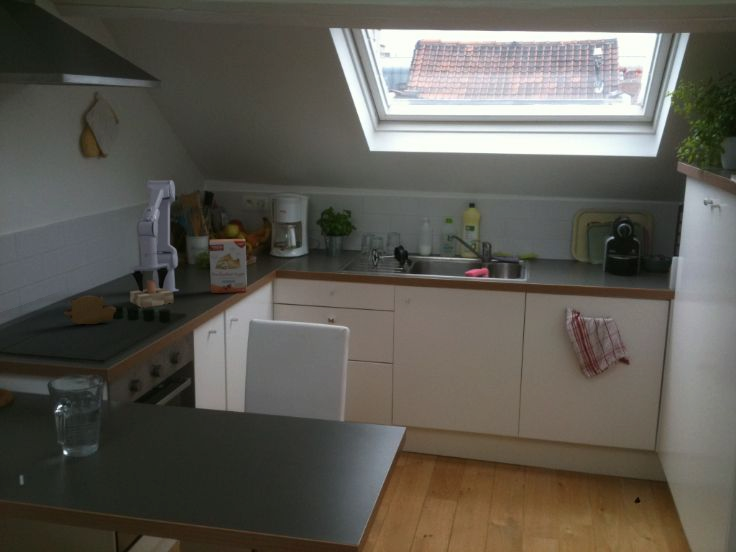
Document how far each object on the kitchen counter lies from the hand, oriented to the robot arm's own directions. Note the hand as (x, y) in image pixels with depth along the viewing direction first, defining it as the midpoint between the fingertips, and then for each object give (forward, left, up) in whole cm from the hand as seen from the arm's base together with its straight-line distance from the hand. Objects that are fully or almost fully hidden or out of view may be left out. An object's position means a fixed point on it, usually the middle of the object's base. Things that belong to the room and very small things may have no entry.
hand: (151, 289), depth 278 cm
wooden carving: (+18, -28, -5) cm, 34 cm away
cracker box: (+1, +31, -5) cm, 32 cm away
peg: (0, 0, -5) cm, 5 cm away
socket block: (0, 0, -5) cm, 5 cm away
